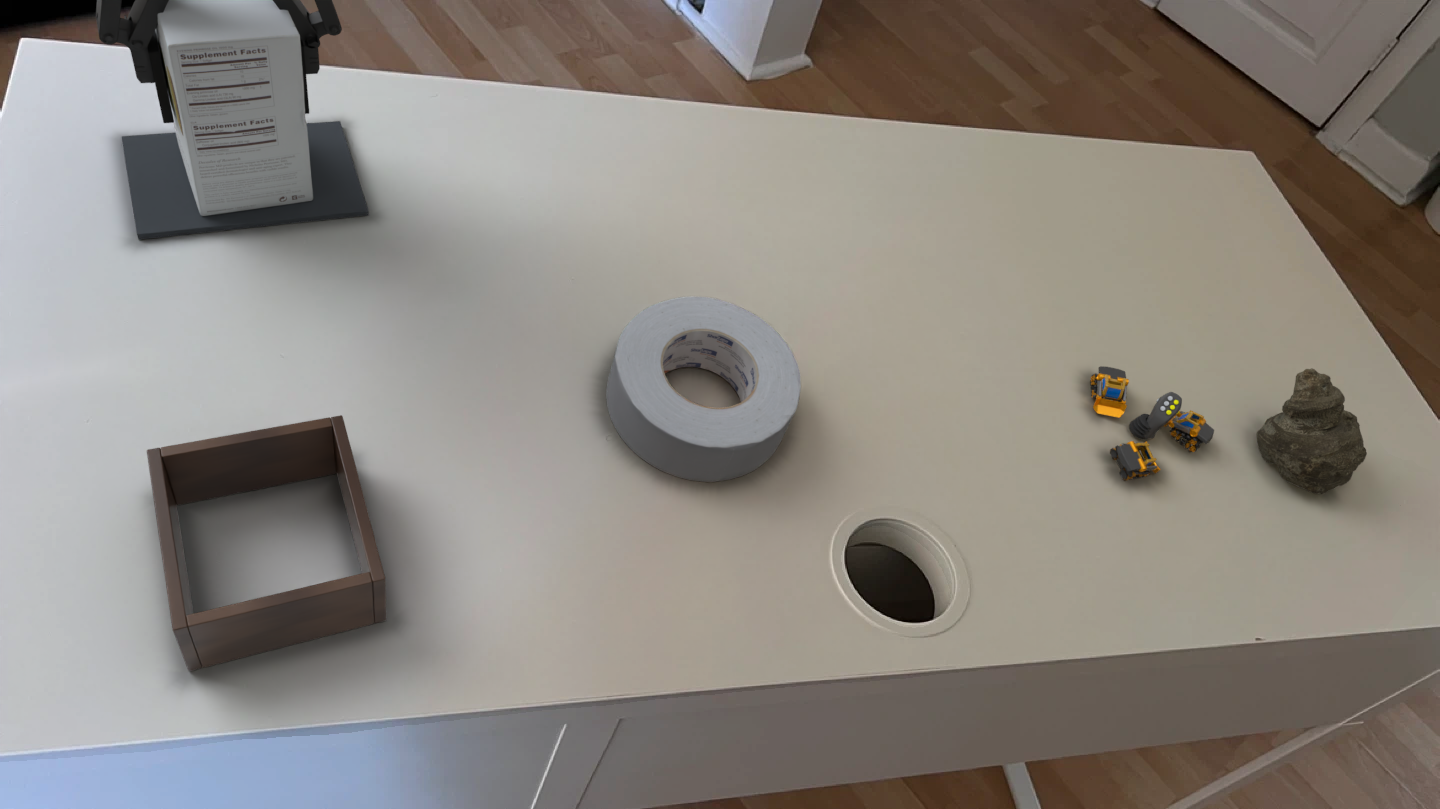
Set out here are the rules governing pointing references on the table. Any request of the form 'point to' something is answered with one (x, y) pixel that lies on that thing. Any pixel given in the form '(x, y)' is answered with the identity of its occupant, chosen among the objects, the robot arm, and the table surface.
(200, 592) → the table surface
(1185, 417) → the toy set
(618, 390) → the tape roll
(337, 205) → the mat
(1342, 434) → the seashell
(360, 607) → the brown open square box
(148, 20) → the robot arm
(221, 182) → the supplement box
